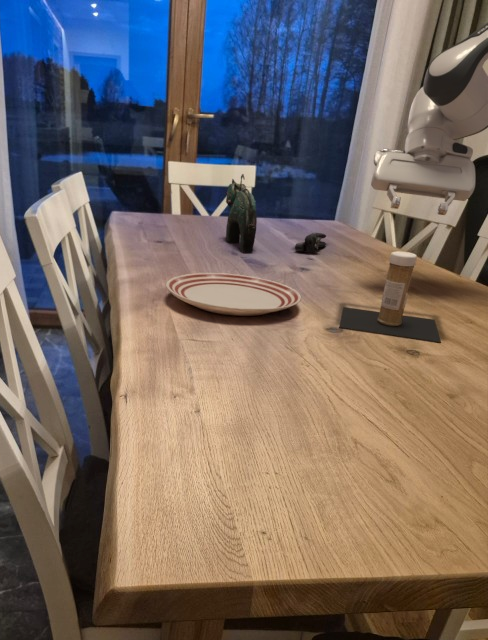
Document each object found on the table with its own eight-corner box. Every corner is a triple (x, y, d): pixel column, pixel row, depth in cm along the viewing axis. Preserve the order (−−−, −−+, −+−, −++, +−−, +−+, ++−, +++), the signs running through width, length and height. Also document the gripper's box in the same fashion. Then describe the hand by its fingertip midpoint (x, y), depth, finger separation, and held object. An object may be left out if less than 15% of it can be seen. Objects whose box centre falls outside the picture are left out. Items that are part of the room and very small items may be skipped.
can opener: (313, 256, 164) (317, 236, 162) (291, 252, 167) (294, 232, 165) (334, 247, 178) (337, 229, 175) (313, 244, 181) (315, 225, 178)
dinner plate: (227, 279, 135) (228, 264, 134) (325, 308, 118) (328, 293, 117) (137, 297, 117) (137, 281, 116) (238, 335, 100) (240, 317, 99)
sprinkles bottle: (405, 324, 111) (422, 254, 105) (391, 328, 108) (407, 256, 102) (386, 318, 114) (401, 249, 108) (371, 321, 112) (386, 251, 106)
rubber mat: (434, 320, 115) (434, 319, 115) (440, 343, 103) (441, 342, 103) (343, 307, 119) (343, 306, 119) (339, 328, 107) (339, 327, 107)
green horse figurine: (220, 239, 179) (226, 170, 170) (240, 240, 180) (247, 171, 171) (238, 253, 161) (245, 177, 152) (260, 254, 162) (268, 179, 154)
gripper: (379, 137, 120) (370, 193, 116) (481, 149, 117) (475, 207, 113) (372, 158, 126) (363, 212, 122) (469, 170, 123) (463, 225, 119)
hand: (418, 210), depth 118 cm, fingers open, 8 cm apart
